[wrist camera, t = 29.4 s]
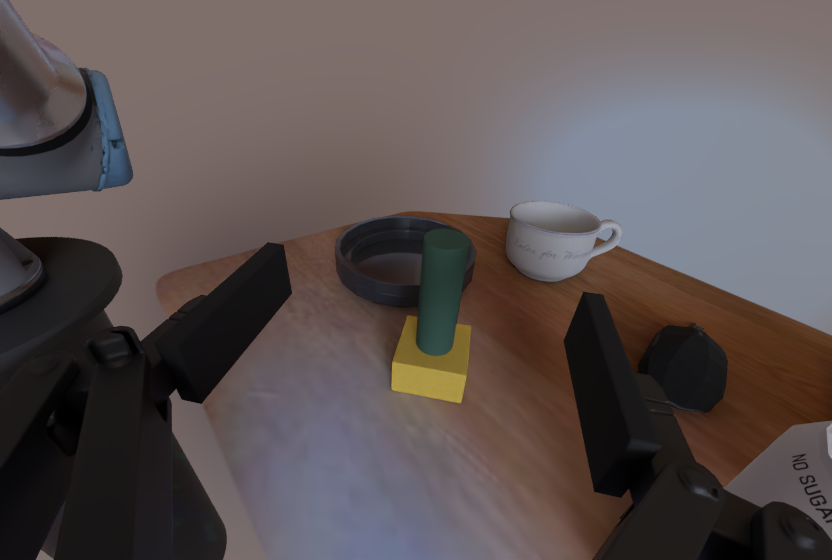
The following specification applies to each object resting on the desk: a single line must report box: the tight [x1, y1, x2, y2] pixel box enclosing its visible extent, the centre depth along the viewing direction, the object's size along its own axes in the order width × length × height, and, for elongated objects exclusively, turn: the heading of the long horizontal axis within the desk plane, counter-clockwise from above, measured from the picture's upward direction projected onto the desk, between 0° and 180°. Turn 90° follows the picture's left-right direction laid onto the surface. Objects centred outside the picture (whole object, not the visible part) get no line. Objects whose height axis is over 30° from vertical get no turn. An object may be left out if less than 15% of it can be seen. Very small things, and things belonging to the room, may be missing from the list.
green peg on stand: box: [391, 229, 471, 404], centre depth 29 cm, size 6×6×14 cm
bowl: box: [335, 216, 476, 307], centre depth 46 cm, size 17×17×4 cm
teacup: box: [506, 201, 622, 282], centre depth 46 cm, size 14×11×8 cm
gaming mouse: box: [638, 323, 728, 413], centre depth 34 cm, size 6×15×4 cm, turn 139°
